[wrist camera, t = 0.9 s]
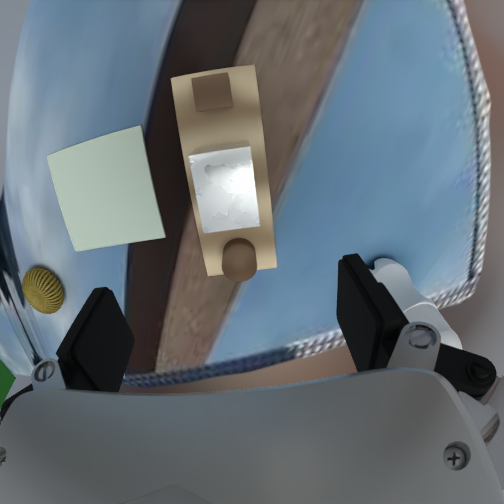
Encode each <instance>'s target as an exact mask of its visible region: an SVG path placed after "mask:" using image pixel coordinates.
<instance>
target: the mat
mask: <svg viewBox="0 0 504 504" xmlns="http://www.w3.org/2000/svg"><path fill="white" fill-rule="evenodd" d="M47 159H48V164H49V168H50V172H51V176H52V180H53V184H54V187H55V191H56V194H57V198H58V201H59V205H60V208H61V211H62V214H63V217H64V220H65V223H66V226H67V229H68V232H69V235H70V238H71V241H72V243H73V246H74V249H75V251H76V252H77V251H83V250H89V249H95V248H101V247H107V246H113V245H119V244H126V243H132V242H138V241H145V240H151V239H158V238H165V237H166V234H165V230H164V226H163V223H162V219H161V214H160V210H159V206H158V202H157V198H156V193H155V189H154V185H153V180H152V175H151V171H150V166H149V161H148V156H147V151H146V146H145V141H144V135H143V130H142V125H139V126H135V127H132V128H128V129H124V130H121V131H117V132H114V133H110V134H107V135H104V136H101V137H98V138H94V139H91V140H88V141H85V142H82V143H80V144H77V145H74V146H71V147H68V148H66V149H63V150H60V151H58V152H55V153H53V154H50V155H48V156H47Z"/></svg>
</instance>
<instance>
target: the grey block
mask: <svg viewBox="0 0 504 504" xmlns="http://www.w3.org/2000/svg"><path fill="white" fill-rule="evenodd" d="M189 160H190V166H191V171H192V177H193V182H194V188H195V193H196V198H197V203H198V208H199V213H200V218H201V223H202V228H203V233H211V232H218V231H226V230H233V229H241V228H249V227H257V226H260V222H259V213H258V205H257V197H256V189H255V180H254V172H253V164H252V156H251V148H250V144H249V141H248V140H245V141H237V142H230V143H223V144H217V145H210V146H204V147H198V148H196V149H195V150H194V151H193V152H192V153H191V154H190V155H189Z"/></svg>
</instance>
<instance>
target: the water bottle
mask: <svg viewBox="0 0 504 504" xmlns="http://www.w3.org/2000/svg"><path fill="white" fill-rule="evenodd" d="M374 264H375V269H374V270H371V269H369V270H370V271H371V273H372V274H373V276H374V277H375V279H376V280H377V282H382V283H383V284H384V285H385V287H386V288H387V289H388V291H389V292H390V294H391V295H392V297H393V298H394V300H395V301H396V303H397V304H398V306H399V307H400V309H401V310H402V312H403V313H404V315H405V316H406V318H407V319H408V321H409V322H410V323H411V322H417V321H421V322H426V323H429V324H431V325H433V326H434V327H435V328H436V329H437V330H438V331H439V333H440V335H441V343H443V344H446V345H449V346H452V347H455V348H458V349H461V350H462V345H461V342H460V340H459V337H458V336H457V334H456V333H455V332H454V331H453V330H452V329H451V327H450V326H449V325H448V323H447V322H446V321H445V319H444V318H443V317H442V315H441V314H440V313H439V311H438V310H437V307H436V306H435V304H434V303H433V302H432V301H431V300H430V299H428V298H426V297H424V296H422V295H421V294H420V293H419V292H418V291H417V290H416V288H415V287H414V285H413V283H412V281H411V279H410V276H409V273H408V272H407V270H406V269H405V268H404V267H403V266H402V265H400V264H399V263H397V262H395V261H393V260H391V259H388V258H380V259H377V260H376V261H374Z"/></svg>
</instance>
